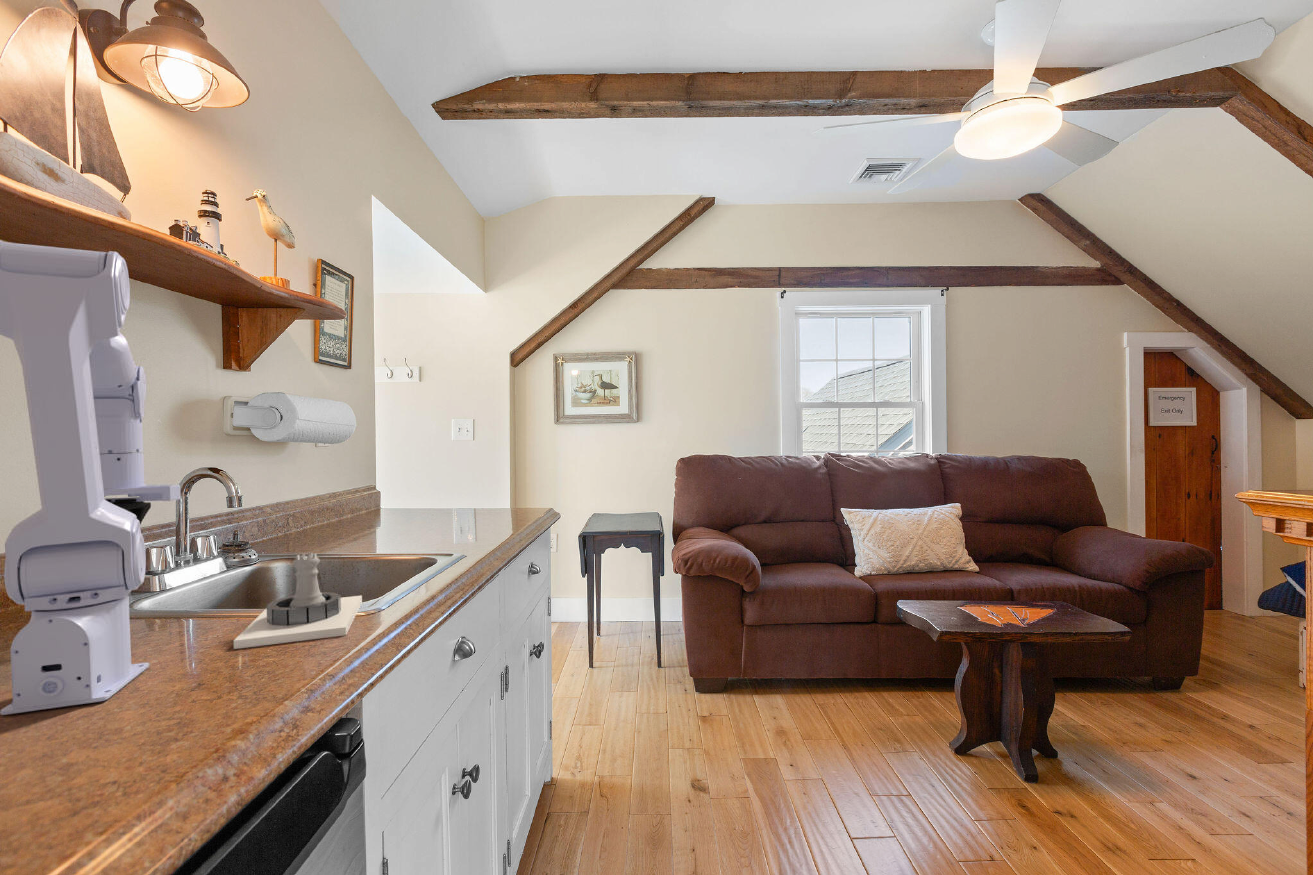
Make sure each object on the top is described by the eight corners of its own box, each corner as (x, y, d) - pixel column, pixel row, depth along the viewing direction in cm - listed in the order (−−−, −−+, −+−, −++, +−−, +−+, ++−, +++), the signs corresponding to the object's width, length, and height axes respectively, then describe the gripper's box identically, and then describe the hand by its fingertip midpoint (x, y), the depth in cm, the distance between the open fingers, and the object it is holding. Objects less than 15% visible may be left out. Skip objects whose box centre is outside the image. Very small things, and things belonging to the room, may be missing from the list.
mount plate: (345, 635, 77) (345, 627, 77) (233, 649, 73) (233, 640, 73) (362, 602, 92) (361, 595, 92) (269, 612, 88) (269, 605, 88)
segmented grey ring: (334, 620, 80) (334, 604, 80) (260, 628, 77) (259, 613, 77) (344, 603, 88) (344, 589, 88) (277, 610, 85) (276, 596, 85)
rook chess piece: (334, 609, 85) (332, 551, 85) (312, 619, 81) (309, 558, 80) (304, 608, 86) (302, 551, 85) (281, 618, 81) (278, 558, 81)
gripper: (194, 450, 84) (198, 549, 84) (81, 454, 83) (86, 554, 83) (156, 452, 77) (160, 560, 77) (32, 456, 76) (37, 565, 76)
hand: (119, 558), depth 80 cm, fingers closed
